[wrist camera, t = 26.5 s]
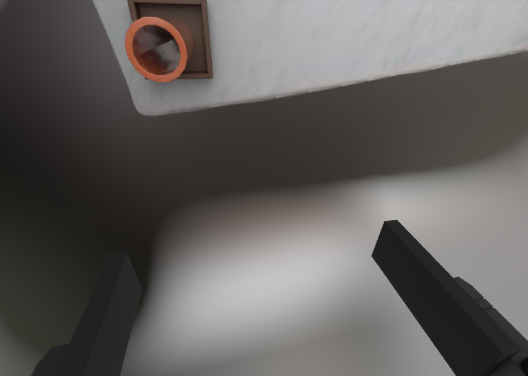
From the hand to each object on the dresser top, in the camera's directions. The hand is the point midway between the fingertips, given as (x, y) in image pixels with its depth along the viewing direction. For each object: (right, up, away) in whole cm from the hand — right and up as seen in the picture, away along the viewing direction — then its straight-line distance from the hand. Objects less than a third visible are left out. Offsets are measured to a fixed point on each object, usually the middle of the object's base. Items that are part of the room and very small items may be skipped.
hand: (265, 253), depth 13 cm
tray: (-11, +22, +18) cm, 30 cm away
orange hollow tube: (-11, +22, +18) cm, 30 cm away
